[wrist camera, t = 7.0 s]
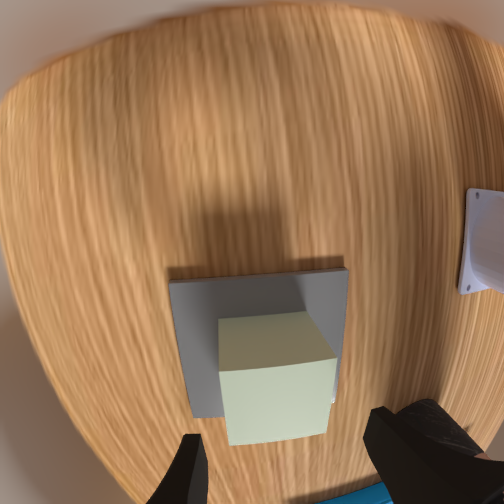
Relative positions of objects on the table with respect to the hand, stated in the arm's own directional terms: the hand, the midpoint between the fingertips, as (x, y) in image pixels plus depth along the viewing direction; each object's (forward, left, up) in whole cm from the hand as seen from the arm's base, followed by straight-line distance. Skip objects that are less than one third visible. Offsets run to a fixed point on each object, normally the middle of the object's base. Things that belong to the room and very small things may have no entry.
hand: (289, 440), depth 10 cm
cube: (0, 0, -7) cm, 7 cm away
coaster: (0, 0, -8) cm, 8 cm away
